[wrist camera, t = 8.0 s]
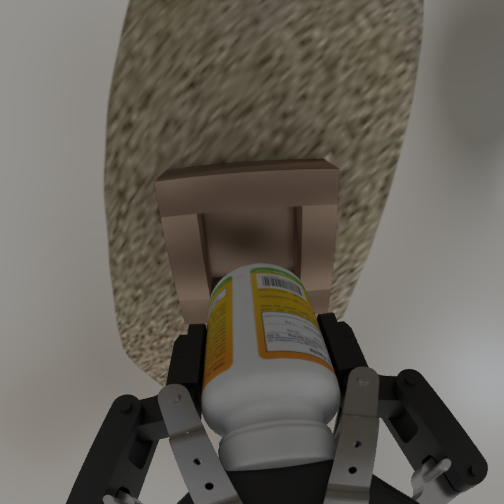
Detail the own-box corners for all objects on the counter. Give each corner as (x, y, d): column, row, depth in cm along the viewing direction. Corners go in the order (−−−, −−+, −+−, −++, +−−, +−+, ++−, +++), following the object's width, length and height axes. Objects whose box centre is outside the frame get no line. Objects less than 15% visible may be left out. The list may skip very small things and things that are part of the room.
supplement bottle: (231, 345, 17) (235, 496, 9) (192, 279, 15) (163, 462, 6) (315, 320, 17) (362, 471, 8) (292, 245, 14) (356, 429, 6)
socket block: (166, 170, 20) (154, 182, 17) (323, 159, 21) (339, 168, 18) (190, 298, 26) (185, 324, 23) (317, 288, 26) (327, 312, 23)
